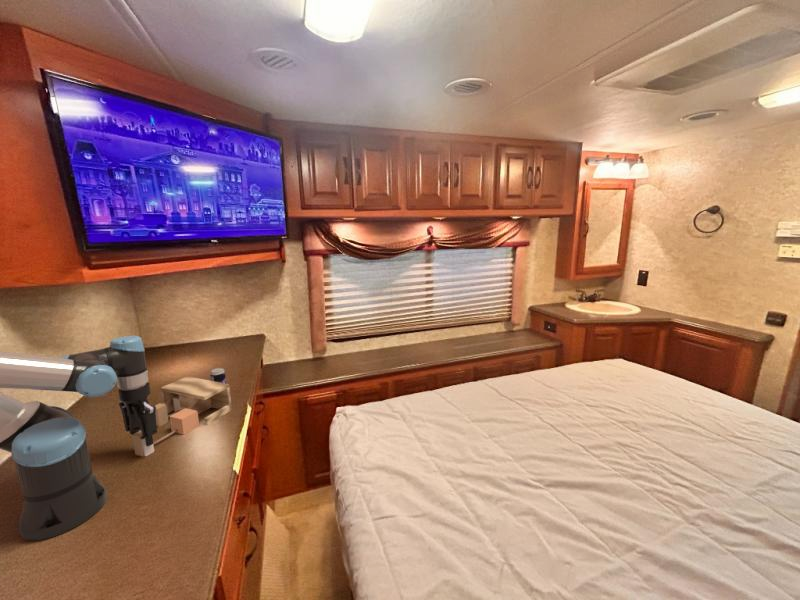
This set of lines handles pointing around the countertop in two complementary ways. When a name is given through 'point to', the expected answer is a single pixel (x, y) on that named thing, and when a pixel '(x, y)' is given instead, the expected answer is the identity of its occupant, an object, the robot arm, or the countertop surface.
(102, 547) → the countertop surface
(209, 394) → the shelf
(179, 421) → the tether block terracotta
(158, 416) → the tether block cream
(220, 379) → the beverage can
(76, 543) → the countertop surface
